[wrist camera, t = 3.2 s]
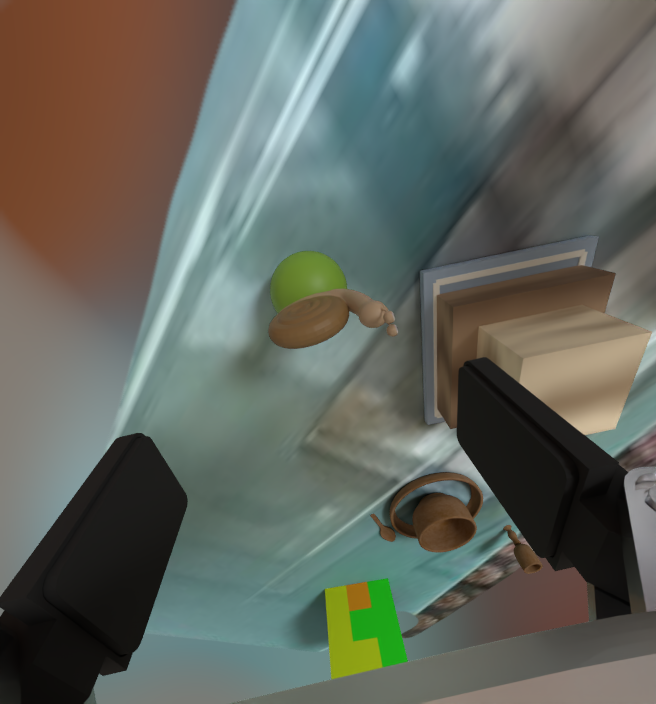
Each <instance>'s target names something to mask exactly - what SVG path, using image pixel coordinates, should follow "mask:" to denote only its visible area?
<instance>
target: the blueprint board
mask: <svg viewBox="0 0 656 704" xmlns="http://www.w3.org/2000/svg"><path fill="white" fill-rule="evenodd" d="M598 239H599V236H592V235H589V236H584V237H579V238H575V239H570V240H565V241H560V242H555V243H551V244H546V245H541V246H536V247H531V248H527V249H522V250H517V251H512V252H508V253H503V254H498V255H493V256H488V257H484V258H479V259H474V260H469V261H464V262H460V263H455V264H450V265H445V266H440V267H436V268H431V269H426V270H421V271H420V295H421V326H422V356H423V387H424V418H425V422H426V423H427V425H430V424H435V423H440V422H445V420H444V418H443V417H442V415H441V414H440V412H439V411H438V409H437V295H440V294H443V293H448V292H452V291H457V290H462V289H467V288H472V287H476V286H481V285H486V284H491V283H496V282H500V281H505V280H510V279H515V278H520V277H524V276H529V275H534V274H539V273H544V272H548V271H553V270H558V269H563V268H568V267H572V266H577V265H578V266H579V265H584V266H588V267H592V263H593V259H594V255H595V251H596V247H597V243H598Z"/></svg>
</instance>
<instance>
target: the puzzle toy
mask: <svg viewBox="0 0 656 704" xmlns="http://www.w3.org/2000/svg"><path fill="white" fill-rule="evenodd" d="M325 598H326V611H327V625H328V639H329V653H330V665H331V679H336V678H340V677H344V676H349V675H353V674H357V673H361V672H366V671H370V670H374V669H379V668H383V667H387V666H391V665H396V664H400V663H405V662H408V660H407V656H406V653H405V648H404V644H403V640H402V635H401V631H400V627H399V623H398V619H397V614H396V610H395V606H394V602H393V598H392V593H391V589H390V585H389V581H388V578H387V579H381V580H375V581H369V582H363V583H358V584H352V585H346V586H340V587H334V588H328V589H325Z"/></svg>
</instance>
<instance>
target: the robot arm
mask: <svg viewBox="0 0 656 704" xmlns="http://www.w3.org/2000/svg"><path fill="white" fill-rule="evenodd" d="M457 438H458V441H459V444H460V445H461V447H462V448H463V450H464V451H465V453H466V454H467V456H468V457H469V458H470V460H471V461H472V463H473V464H474V466H475V467H476V469H477V470H478V471H479V473H480V474H481V476H482V477H483V479H484V480H485V482H486V483H487V484H488V486H489V487H490V489H491V490H492V492H493V493H494V495H495V496H496V497H497V499H498V500H499V502H500V503H501V505H502V506H503V507H504V509H505V510H506V512H507V513H508V515H509V516H510V518H511V519H512V520H513V522H514V523H515V525H516V526H517V528H518V529H519V531H520V532H521V533H522V535H523V536H524V538H525V539H526V541H527V542H528V544H529V545H530V546H531V548H532V549H533V551H534V552H535V553H536V554H537V555H538V556H539V557H541V558H546V559H547V560H548V562H549V563H550V565H551V566H552V568H553V569H554V570H555V571H558V570H562V569H567V568H571V567H575V568H576V569H577V570H578V572H579V573H580V574H581V576H582V577H583V578H584V579H585V581H586V582H587V591H588V608H589V609H588V610H589V622H586V623H581V624H576V625H571V626H566V627H562V628H556V629H552V630H547V631H542V632H537V633H532V634H527V635H523V636H518V637H514V638H510V639H505V640H501V641H497V642H493V643H488V644H483V645H479V646H475V647H470V648H466V649H461V650H457V651H453V652H448V653H444V654H440V655H435V656H431V657H426V658H422V659H418V660H413V661H409V662H405V663H400V664H396V665H391V666H387V667H383V668H379V669H374V670H370V671H366V672H361V673H357V674H353V675H349V676H344V677H340V678H336V679H331V680H327V681H323V682H319V683H314V684H310V685H306V686H302V687H298V688H293V689H289V690H285V691H280V692H276V693H272V694H267V695H263V696H259V697H255V698H250V699H246V700H242V701H238V702H234V703H230V704H656V467H640V468H637V469H634V470H631V471H630V472H627V471H626V470H625V469H624V468H622V467H621V466H620V465H619V462H617V461H616V460H615V459H614V458H612V457H611V456H610V455H609V454H607V453H606V452H605V451H604V450H602V449H601V448H600V447H599V446H597V445H596V444H595V443H594V442H592V441H591V440H590V439H589V438H587V437H586V436H585V435H584V434H582V433H581V432H580V431H579V430H577V429H576V428H575V427H574V426H572V425H571V424H570V423H569V422H567V421H566V420H565V419H564V418H562V417H561V416H560V415H559V414H557V413H556V412H555V411H554V410H552V409H551V408H550V407H549V406H547V405H546V404H545V403H544V402H542V401H541V400H540V399H539V398H537V397H536V396H535V395H534V394H532V393H531V392H530V391H529V390H527V389H526V388H525V387H524V386H522V385H521V384H520V383H519V382H517V381H516V380H515V379H514V378H512V377H511V376H510V375H509V374H507V373H506V372H505V371H504V370H502V369H501V368H500V367H499V366H497V365H496V364H495V363H493V362H492V361H491V360H490V359H488V358H487V357H482V358H478V359H473V360H469V361H466V362H464V364H463V367H460V368H459V371H458V404H457ZM187 502H188V501H187V495H186V493H185V492H184V490H183V488H182V487H181V485H180V484H179V482H178V480H177V479H176V477H175V476H174V474H173V472H172V471H171V469H170V468H169V466H168V465H167V463H166V461H165V460H164V458H163V457H162V455H161V453H160V452H159V450H158V449H157V447H156V445H155V444H154V442H153V441H152V439H151V438H150V437H148V436H145V435H144V434H142V433H136V434H131V435H127V436H122V437H119V438H117V439H116V440H115V441H114V442H113V444H112V445H111V446H110V448H109V449H108V450H107V452H106V453H105V454H104V456H103V457H102V459H101V460H100V461H99V463H98V464H97V465H96V467H95V468H94V470H93V471H92V472H91V474H90V475H89V477H88V478H87V479H86V480H85V482H84V483H83V485H82V486H81V487H80V489H79V490H78V491H77V493H76V494H75V496H74V497H73V498H72V500H71V501H70V502H69V504H68V505H67V507H66V508H65V509H64V510H63V512H62V513H61V515H60V516H59V517H58V519H57V520H56V521H55V523H54V524H53V526H52V527H51V528H50V530H49V531H48V532H47V534H46V535H45V536H44V538H43V539H42V541H41V542H40V543H39V545H38V546H37V547H36V549H35V550H34V552H33V553H32V554H31V556H30V557H29V558H28V560H27V561H26V562H25V564H24V565H23V566H22V568H21V569H20V571H19V572H18V573H17V575H16V576H15V577H14V579H13V580H12V582H11V583H10V584H9V586H8V587H7V589H6V590H5V591H4V592H3V594H2V595H1V597H0V608H2V609H3V610H5V611H4V612H3V613H2V615H1V616H0V704H96V698H95V693H94V689H93V687H94V685H95V682H96V680H97V677H98V675H99V674H101V675H102V676H104V675H109V674H113V673H117V672H121V671H126V670H127V667H128V665H129V662H130V659H131V656H132V653H133V652H134V651H135V650H136V649H137V648H138V647H139V645H140V643H141V640H142V638H143V635H144V632H145V629H146V626H147V623H148V620H149V617H150V614H151V611H152V608H153V605H154V602H155V600H156V597H157V594H158V591H159V588H160V585H161V582H162V579H163V576H164V573H165V570H166V567H167V564H168V561H169V558H170V555H171V552H172V549H173V546H174V543H175V540H176V537H177V535H178V532H179V529H180V526H181V523H182V520H183V517H184V514H185V511H186V508H187Z"/></svg>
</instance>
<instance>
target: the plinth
mask: <svg viewBox="0 0 656 704" xmlns="http://www.w3.org/2000/svg"><path fill="white" fill-rule="evenodd" d="M615 274H616V273H612V272H608V271H604V270H600V269H596V268H592V267H588V266H584V265H579V266H578V265H577V266H572V267H568V268H563V269H558V270H553V271H548V272H544V273H539V274H534V275H529V276H524V277H520V278H515V279H510V280H505V281H500V282H496V283H491V284H486V285H481V286H476V287H472V288H467V289H462V290H457V291H452V292H448V293H443V294H440V295H437V409H438V411H439V412H440V414H441V415H442V417H443V418H444V420H445V421H446V423H447V424H448V426H449V428H450V429H453V428H457V404H458V371H459V368H460V367H463V364H464V362H466V361H469V360H473V359H478V358H482V357H487V358H488V359H490V360H491V361H492V362H493V363H495V364H496V365H497V366H499V367H500V368H501V369H502V370H504V371H505V372H506V373H507V374H509V375H510V376H511V377H512V378H514V379H515V380H516V381H517V382H519V383H520V384H521V385H522V386H524V387H525V388H526V389H527V390H529V391H530V392H531V393H532V394H534V395H535V396H536V397H537V398H539V399H540V400H541V401H542V402H544V403H545V404H546V405H547V406H549V407H550V408H551V409H552V410H554V411H555V412H556V413H557V414H559V415H560V416H561V417H562V418H564V419H565V420H566V421H567V422H569V423H570V424H571V425H572V426H574V427H575V428H576V429H577V430H579V431H580V432H581V433H582V434H584V435H587V434H592V433H597V432H602V431H607V430H611V429H615V428H616V425H617V422H618V420H619V417H620V415H621V412H622V409H623V407H624V404H625V401H626V399H627V396H628V394H629V391H630V388H631V386H632V383H633V381H634V378H635V375H636V373H637V370H638V367H639V365H640V362H641V360H642V357H643V354H644V352H645V349H646V347H647V344H648V341H649V339H650V336H651V334H652V332H651V331H649V330H646V329H644V328H641V327H638V326H636V325H633V324H631V323H628V322H625V321H623V320H620V319H618V318H615V317H612V316H610V315H607V314H605V309H606V306H607V302H608V299H609V295H610V292H611V288H612V285H613V281H614V278H615Z"/></svg>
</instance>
